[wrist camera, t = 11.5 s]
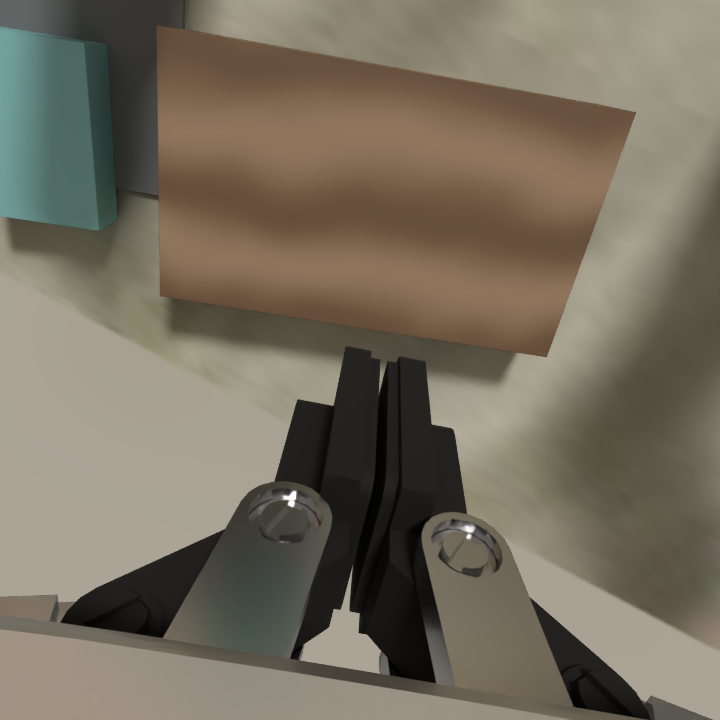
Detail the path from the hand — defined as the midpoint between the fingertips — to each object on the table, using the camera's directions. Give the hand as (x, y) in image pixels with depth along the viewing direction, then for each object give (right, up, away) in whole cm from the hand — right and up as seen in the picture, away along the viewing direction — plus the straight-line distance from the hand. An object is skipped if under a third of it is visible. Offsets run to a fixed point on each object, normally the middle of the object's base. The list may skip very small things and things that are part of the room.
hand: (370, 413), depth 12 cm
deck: (+1, +10, +20) cm, 23 cm away
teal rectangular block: (-17, +12, +16) cm, 27 cm away
